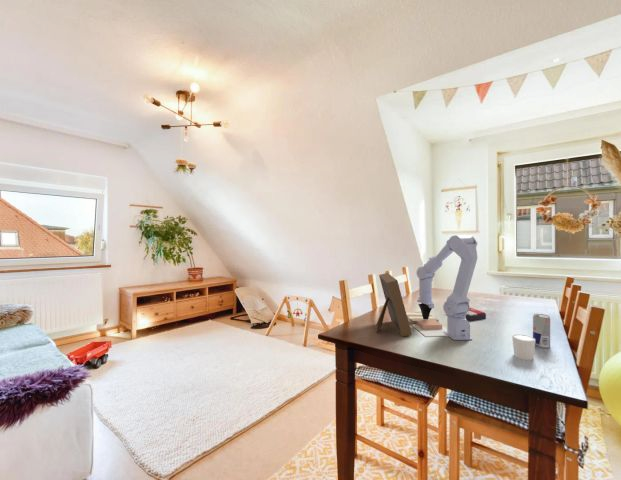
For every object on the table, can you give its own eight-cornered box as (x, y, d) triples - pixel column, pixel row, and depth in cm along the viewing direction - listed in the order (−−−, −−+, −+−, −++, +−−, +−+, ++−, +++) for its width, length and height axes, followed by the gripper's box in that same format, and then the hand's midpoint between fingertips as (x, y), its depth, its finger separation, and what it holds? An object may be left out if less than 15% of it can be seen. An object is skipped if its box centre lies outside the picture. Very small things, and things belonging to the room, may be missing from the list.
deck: (438, 323, 143) (438, 319, 143) (412, 324, 143) (412, 320, 143) (425, 315, 158) (425, 311, 158) (402, 315, 158) (402, 312, 158)
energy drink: (533, 342, 118) (533, 312, 118) (550, 345, 115) (550, 315, 114) (532, 346, 114) (532, 316, 114) (550, 349, 111) (550, 318, 110)
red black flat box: (470, 314, 146) (447, 306, 160) (470, 323, 146) (446, 313, 160) (486, 312, 150) (462, 304, 164) (486, 320, 150) (461, 311, 164)
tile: (442, 329, 134) (442, 325, 134) (423, 329, 134) (422, 325, 134) (434, 323, 142) (434, 319, 142) (416, 324, 142) (416, 320, 142)
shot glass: (525, 352, 109) (525, 333, 109) (540, 360, 102) (540, 340, 102) (507, 352, 108) (507, 334, 108) (521, 361, 102) (521, 341, 101)
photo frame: (399, 321, 148) (398, 272, 147) (411, 336, 126) (410, 279, 126) (370, 321, 149) (369, 273, 148) (377, 337, 127) (376, 280, 127)
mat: (457, 336, 126) (457, 335, 126) (425, 336, 126) (425, 336, 126) (440, 324, 142) (440, 323, 142) (411, 324, 142) (411, 324, 142)
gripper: (411, 288, 149) (412, 314, 150) (423, 294, 135) (423, 323, 135) (425, 288, 149) (425, 314, 150) (438, 294, 135) (438, 323, 135)
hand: (425, 318), depth 142 cm, fingers closed
